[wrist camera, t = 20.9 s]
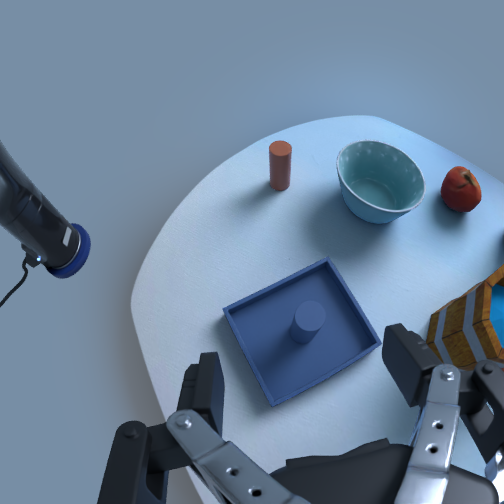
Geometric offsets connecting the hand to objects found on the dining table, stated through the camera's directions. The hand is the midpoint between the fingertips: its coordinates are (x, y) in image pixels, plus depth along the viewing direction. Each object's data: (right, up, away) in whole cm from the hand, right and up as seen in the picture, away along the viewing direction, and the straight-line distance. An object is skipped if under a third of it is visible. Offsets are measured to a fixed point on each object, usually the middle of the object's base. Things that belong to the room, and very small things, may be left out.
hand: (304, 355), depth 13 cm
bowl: (+19, +14, +38) cm, 45 cm away
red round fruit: (+39, +15, +37) cm, 56 cm away
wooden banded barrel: (+33, -11, +24) cm, 43 cm away
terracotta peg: (+3, +17, +40) cm, 44 cm away
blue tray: (+5, -7, +28) cm, 30 cm away
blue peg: (+5, -6, +28) cm, 29 cm away
